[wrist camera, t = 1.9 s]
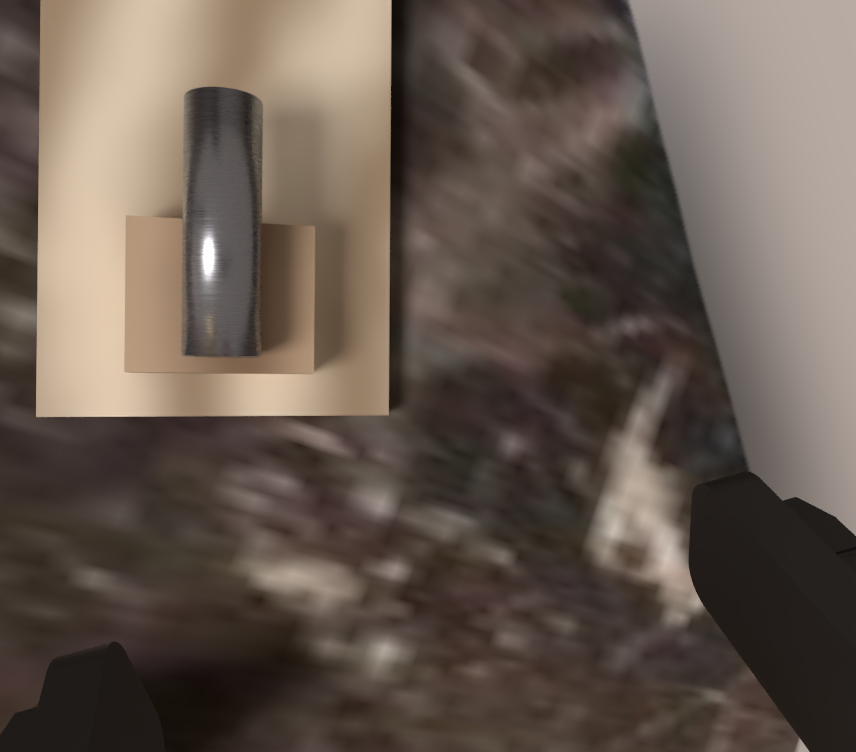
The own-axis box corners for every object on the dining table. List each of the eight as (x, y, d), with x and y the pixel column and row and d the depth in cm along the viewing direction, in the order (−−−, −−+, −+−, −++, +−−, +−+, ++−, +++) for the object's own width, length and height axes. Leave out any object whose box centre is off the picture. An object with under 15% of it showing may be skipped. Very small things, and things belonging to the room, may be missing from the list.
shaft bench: (43, 415, 26) (19, 419, 23) (52, -384, 26) (29, -480, 23) (383, 413, 29) (400, 417, 26) (388, -303, 29) (405, -379, 26)
